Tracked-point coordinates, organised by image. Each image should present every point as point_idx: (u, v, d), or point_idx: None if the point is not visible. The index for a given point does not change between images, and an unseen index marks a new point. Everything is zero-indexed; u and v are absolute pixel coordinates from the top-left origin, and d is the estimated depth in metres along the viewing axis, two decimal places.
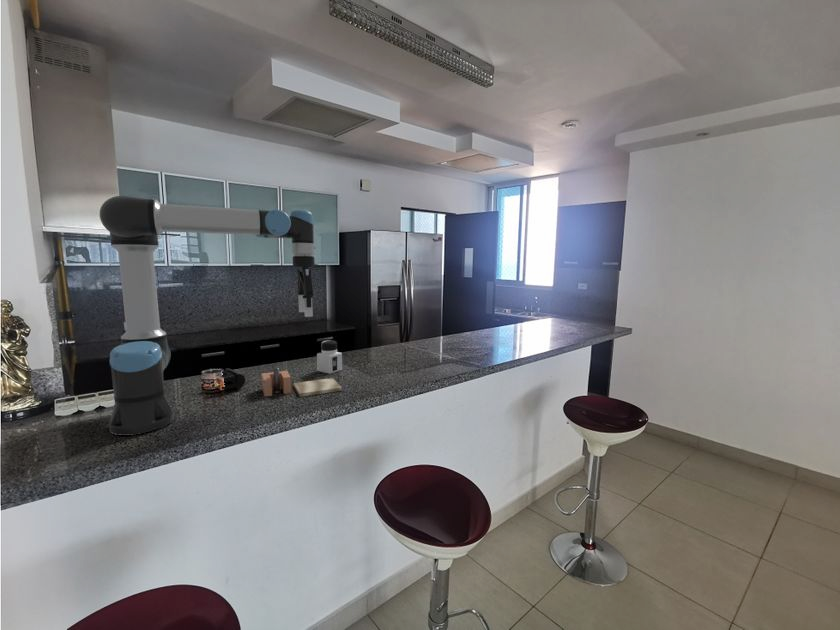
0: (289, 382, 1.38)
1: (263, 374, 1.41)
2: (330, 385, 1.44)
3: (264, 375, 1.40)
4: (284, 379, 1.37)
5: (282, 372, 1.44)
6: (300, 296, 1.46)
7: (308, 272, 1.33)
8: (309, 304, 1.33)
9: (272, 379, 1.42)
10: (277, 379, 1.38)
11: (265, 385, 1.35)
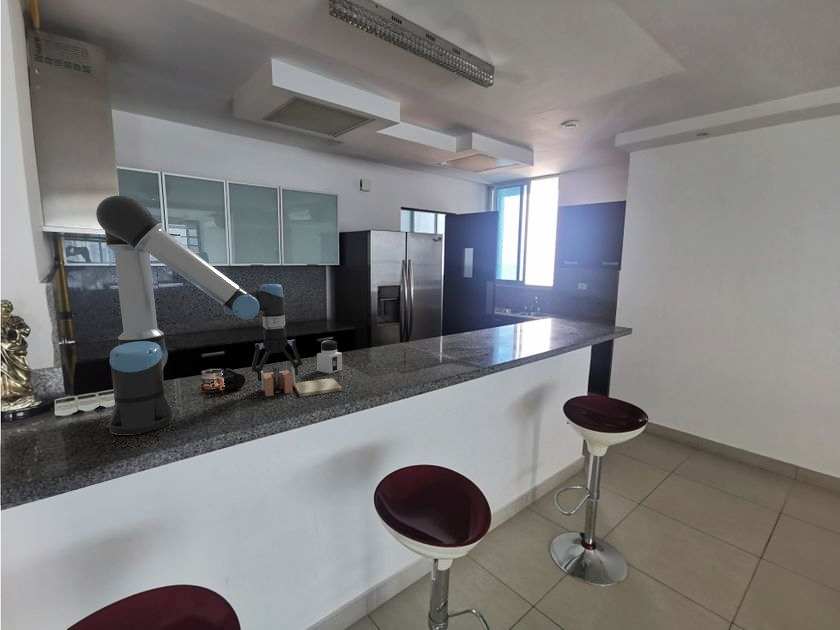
0: (290, 382, 1.39)
1: (264, 374, 1.41)
2: (330, 385, 1.44)
3: (265, 375, 1.40)
4: (285, 379, 1.38)
5: (283, 372, 1.44)
6: (291, 368, 1.44)
7: (255, 347, 1.36)
8: None
9: (273, 379, 1.42)
10: (277, 379, 1.38)
11: (266, 385, 1.35)
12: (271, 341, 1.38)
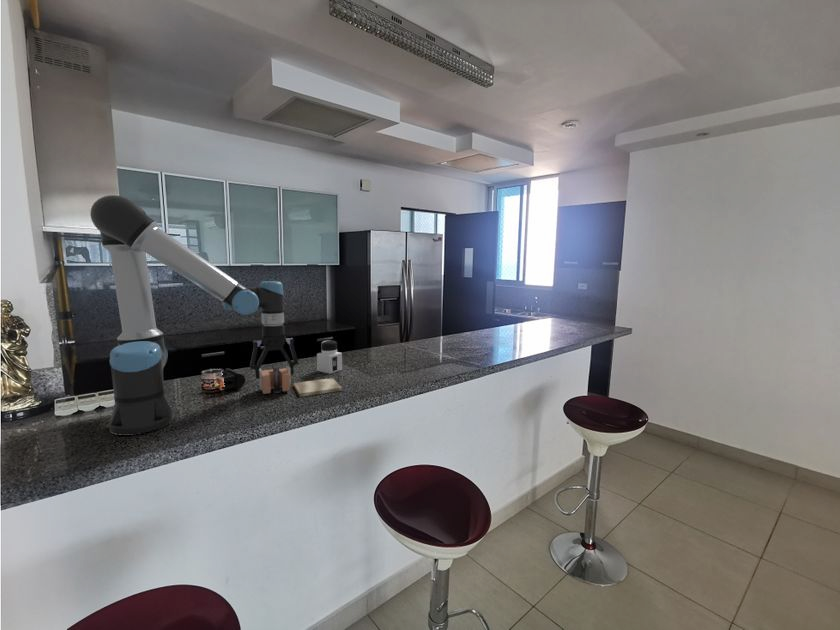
0: (288, 380, 1.38)
1: (262, 371, 1.41)
2: (330, 385, 1.44)
3: (263, 372, 1.40)
4: (283, 376, 1.37)
5: (281, 369, 1.43)
6: (287, 367, 1.43)
7: (253, 344, 1.36)
8: None
9: (271, 376, 1.42)
10: (277, 379, 1.38)
11: (264, 382, 1.34)
12: (269, 338, 1.37)
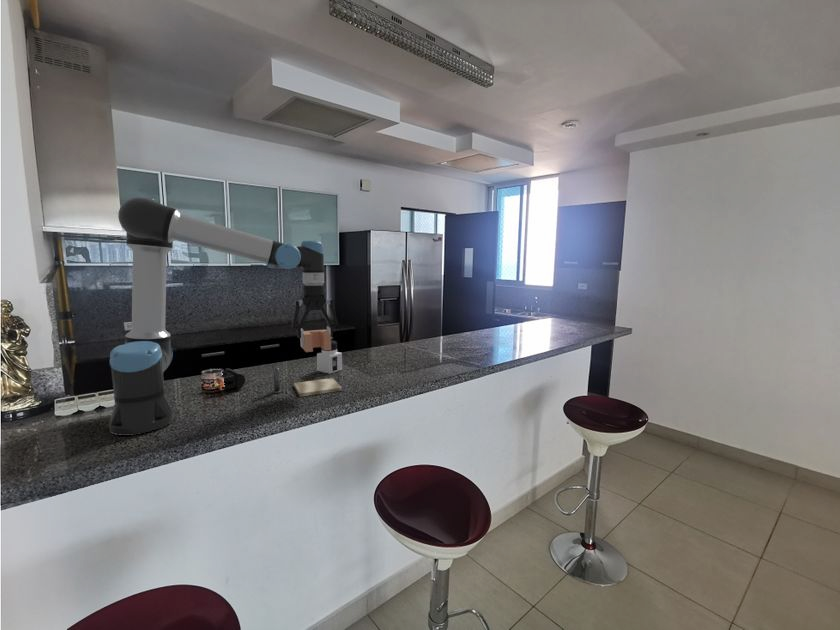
0: (329, 339, 1.39)
1: (303, 331, 1.42)
2: (330, 385, 1.44)
3: (304, 332, 1.41)
4: (324, 335, 1.38)
5: (321, 330, 1.45)
6: (327, 328, 1.44)
7: (295, 304, 1.37)
8: (297, 335, 1.39)
9: (311, 337, 1.43)
10: (277, 379, 1.38)
11: (306, 340, 1.36)
12: (310, 298, 1.39)
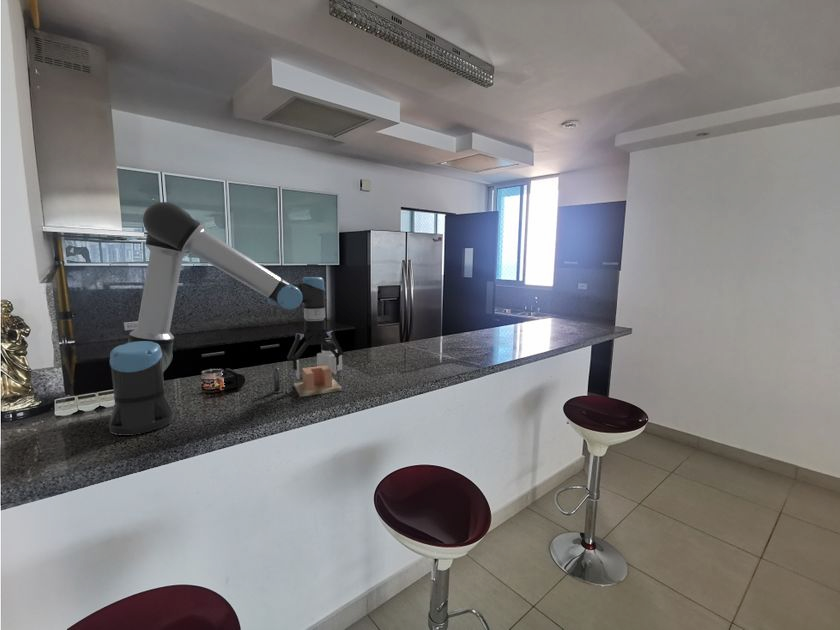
0: (330, 376, 1.41)
1: (304, 369, 1.44)
2: None
3: (305, 370, 1.43)
4: (325, 373, 1.40)
5: (322, 367, 1.47)
6: (332, 357, 1.47)
7: (296, 337, 1.38)
8: (293, 366, 1.40)
9: None
10: (277, 379, 1.38)
11: (308, 379, 1.38)
12: (312, 334, 1.40)
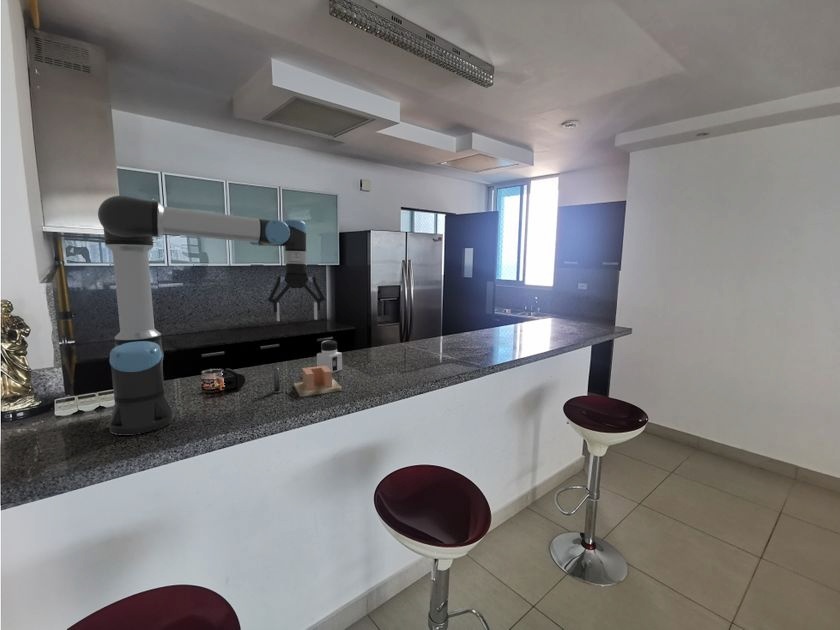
0: (330, 376, 1.41)
1: (304, 369, 1.44)
2: None
3: (305, 370, 1.43)
4: (325, 373, 1.40)
5: (322, 367, 1.47)
6: (314, 303, 1.48)
7: (276, 279, 1.40)
8: (273, 309, 1.41)
9: None
10: (277, 379, 1.38)
11: (308, 379, 1.38)
12: (292, 277, 1.42)
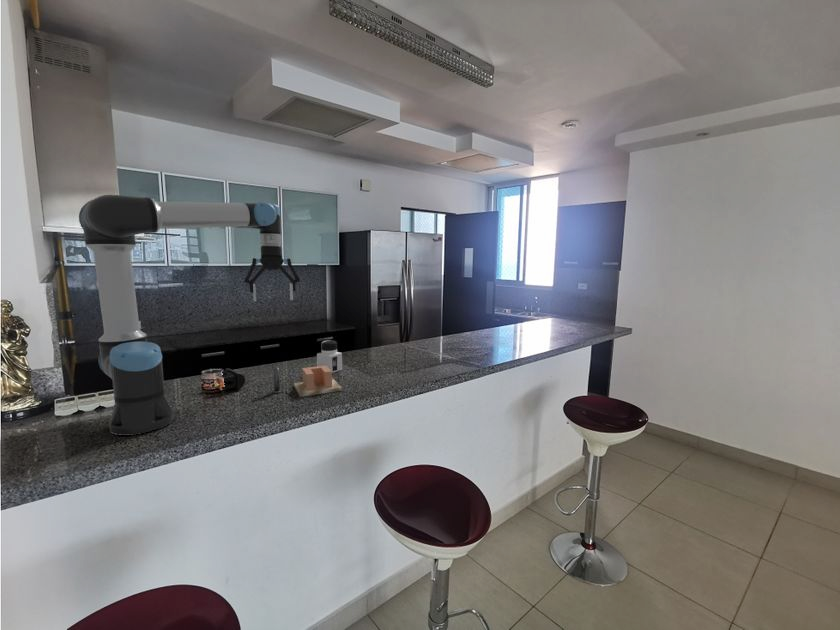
0: (330, 376, 1.41)
1: (304, 369, 1.44)
2: None
3: (305, 370, 1.43)
4: (325, 373, 1.40)
5: (322, 367, 1.47)
6: None
7: (252, 261, 1.46)
8: None
9: None
10: (277, 379, 1.38)
11: (308, 379, 1.38)
12: (268, 259, 1.48)
